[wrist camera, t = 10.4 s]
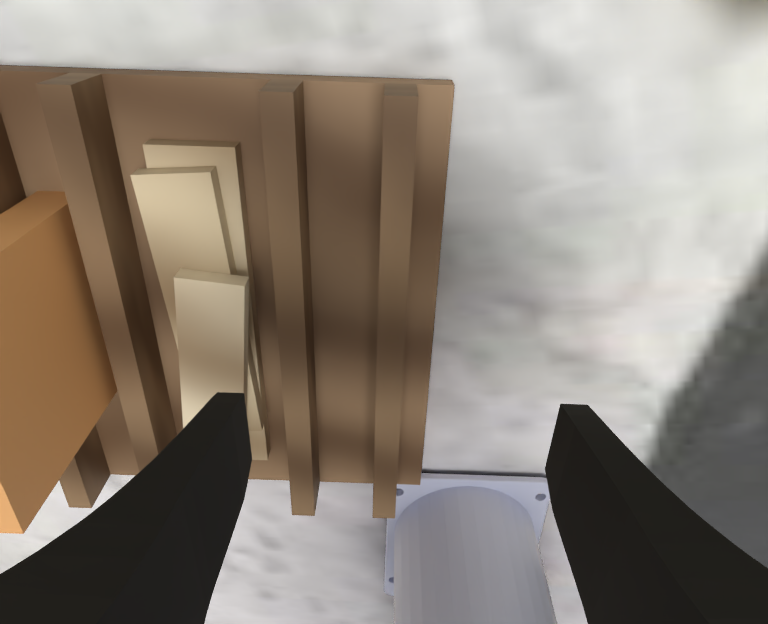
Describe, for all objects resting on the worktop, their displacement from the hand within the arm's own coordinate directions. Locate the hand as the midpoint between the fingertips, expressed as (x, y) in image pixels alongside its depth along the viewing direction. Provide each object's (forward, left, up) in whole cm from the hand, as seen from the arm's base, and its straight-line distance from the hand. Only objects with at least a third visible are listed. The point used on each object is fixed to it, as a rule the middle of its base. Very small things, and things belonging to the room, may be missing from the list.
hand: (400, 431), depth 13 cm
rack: (-3, +7, -10) cm, 13 cm away
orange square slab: (-2, +12, -9) cm, 15 cm away
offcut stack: (-3, +7, -9) cm, 12 cm away
